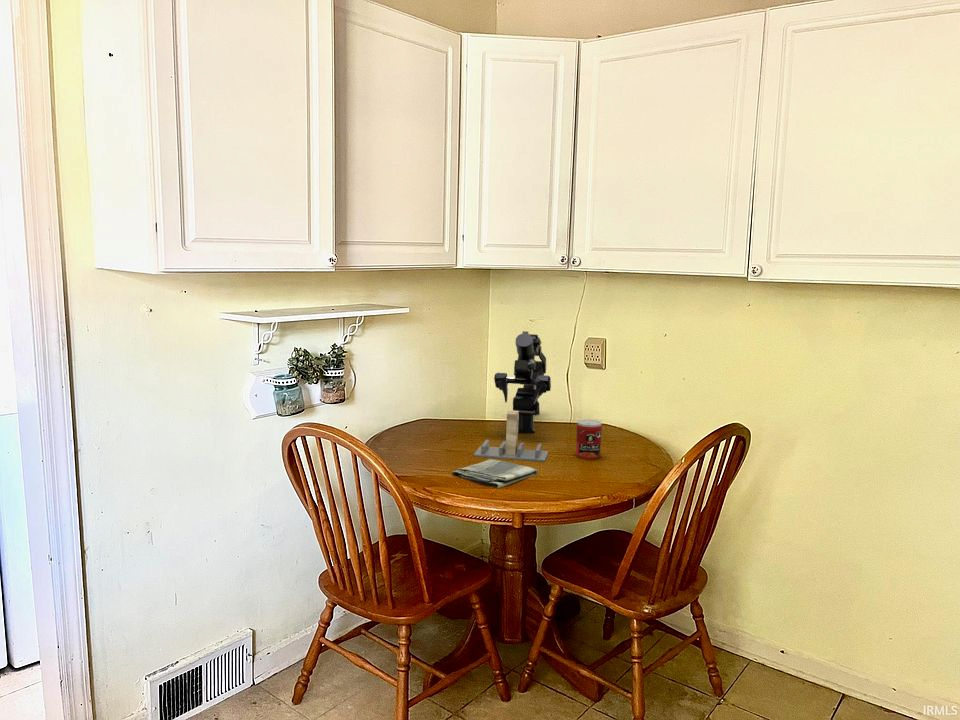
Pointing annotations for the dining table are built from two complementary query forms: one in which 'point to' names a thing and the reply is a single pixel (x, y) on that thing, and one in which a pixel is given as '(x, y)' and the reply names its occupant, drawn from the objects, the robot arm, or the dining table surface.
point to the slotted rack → (520, 455)
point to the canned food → (588, 439)
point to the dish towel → (495, 473)
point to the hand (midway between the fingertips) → (519, 402)
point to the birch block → (512, 432)
